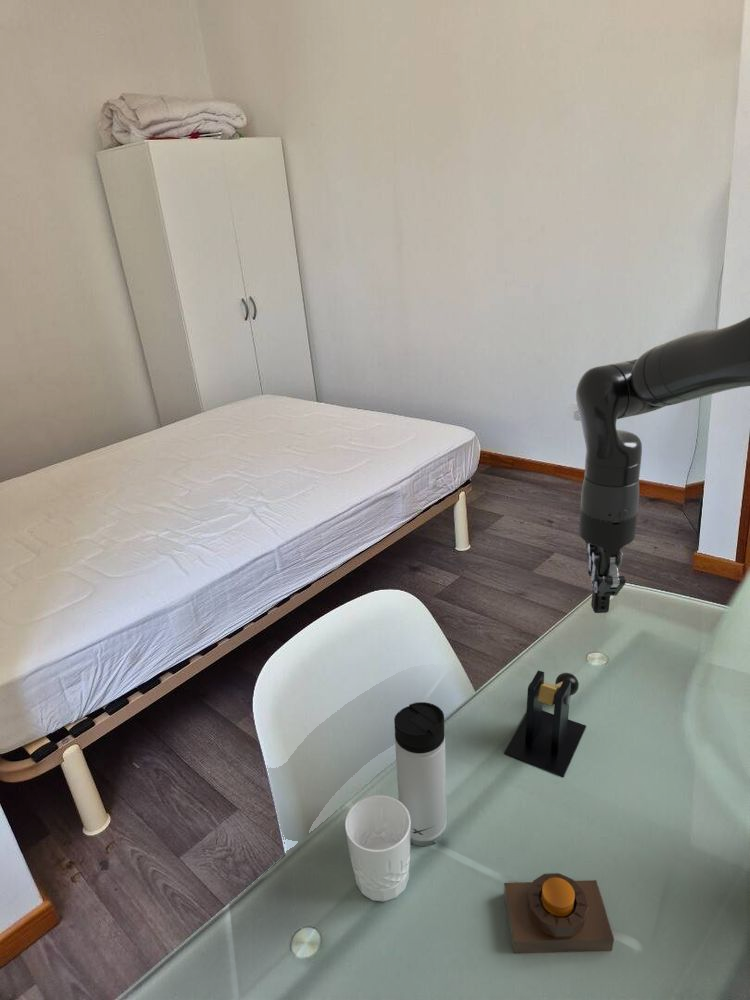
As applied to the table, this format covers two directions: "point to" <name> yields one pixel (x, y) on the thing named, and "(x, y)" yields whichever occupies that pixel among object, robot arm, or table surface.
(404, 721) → the travel mug
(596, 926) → the switch plate
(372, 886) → the white cup
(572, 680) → the switch lever
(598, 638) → the table surface
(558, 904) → the button
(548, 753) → the switch bracket
